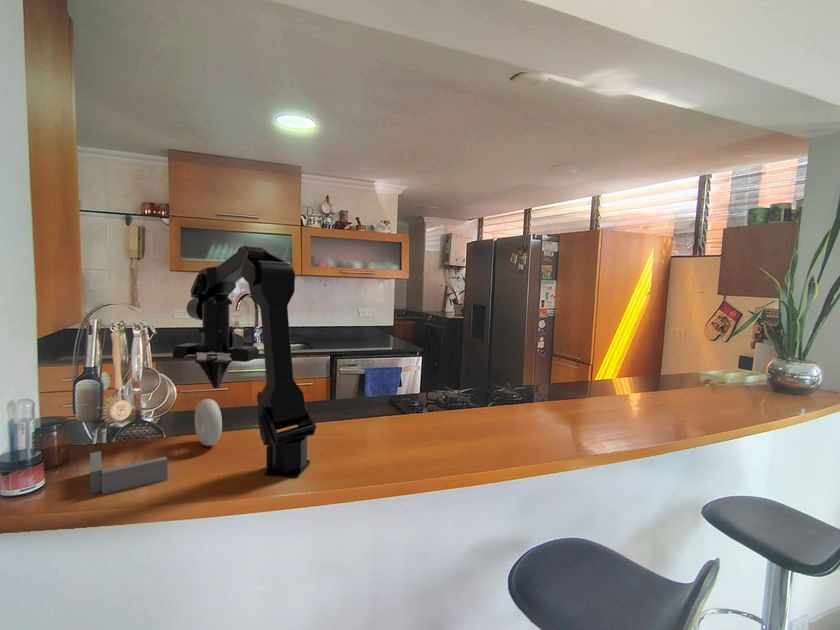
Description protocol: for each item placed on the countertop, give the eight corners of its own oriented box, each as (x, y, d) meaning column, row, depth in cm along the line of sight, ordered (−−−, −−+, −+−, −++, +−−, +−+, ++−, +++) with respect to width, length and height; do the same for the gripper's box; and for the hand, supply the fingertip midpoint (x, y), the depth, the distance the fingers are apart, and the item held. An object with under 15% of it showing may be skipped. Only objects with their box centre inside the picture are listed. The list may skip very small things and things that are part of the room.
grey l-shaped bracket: (172, 478, 72) (171, 456, 72) (138, 500, 65) (138, 476, 64) (96, 471, 73) (95, 450, 73) (55, 492, 66) (54, 469, 66)
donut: (224, 449, 85) (224, 403, 84) (206, 454, 82) (206, 406, 81) (209, 435, 92) (209, 392, 91) (192, 439, 89) (192, 395, 89)
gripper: (270, 321, 102) (269, 382, 103) (201, 318, 104) (201, 378, 105) (246, 325, 91) (246, 393, 92) (170, 322, 93) (171, 388, 94)
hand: (216, 387), depth 96 cm, fingers closed
